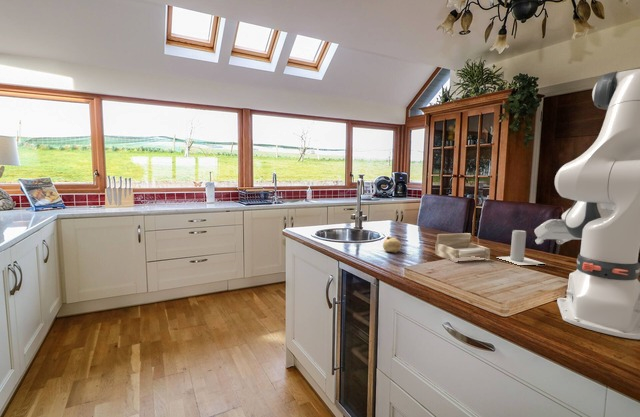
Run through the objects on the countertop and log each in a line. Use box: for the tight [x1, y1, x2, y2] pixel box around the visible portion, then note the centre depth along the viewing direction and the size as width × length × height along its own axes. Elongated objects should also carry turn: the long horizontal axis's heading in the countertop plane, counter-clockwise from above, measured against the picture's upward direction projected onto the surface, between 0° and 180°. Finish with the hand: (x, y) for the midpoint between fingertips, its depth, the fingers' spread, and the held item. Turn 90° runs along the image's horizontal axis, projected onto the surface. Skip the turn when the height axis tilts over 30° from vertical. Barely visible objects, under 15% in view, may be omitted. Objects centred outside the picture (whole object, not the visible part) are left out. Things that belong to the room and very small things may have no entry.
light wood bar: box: [457, 248, 485, 258], centre depth 134 cm, size 4×12×4 cm, turn 104°
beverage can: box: [510, 229, 527, 261], centre depth 133 cm, size 5×5×12 cm
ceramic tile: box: [496, 255, 546, 266], centre depth 134 cm, size 12×12×1 cm
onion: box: [382, 236, 402, 254], centre depth 147 cm, size 8×8×7 cm
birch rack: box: [434, 232, 491, 260], centre depth 139 cm, size 14×16×9 cm
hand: (547, 242), depth 121 cm, fingers open, 8 cm apart
